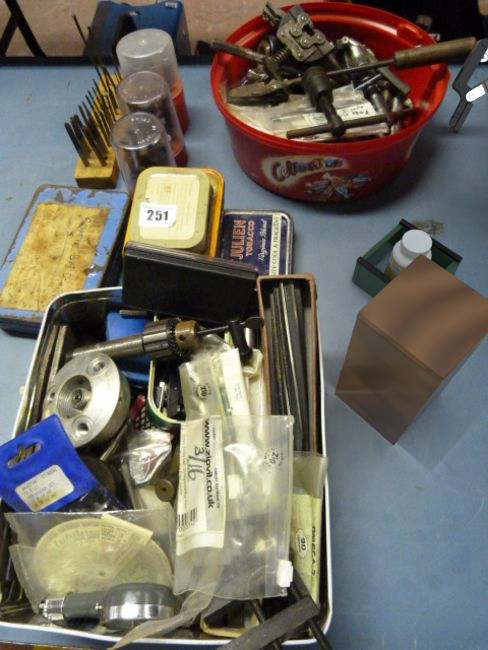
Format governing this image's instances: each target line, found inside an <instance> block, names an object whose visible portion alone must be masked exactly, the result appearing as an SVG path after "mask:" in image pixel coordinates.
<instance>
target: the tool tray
mask: <svg viewBox="0 0 488 650" xmlns="http://www.w3.org/2000/svg"><path fill="white" fill-rule="evenodd" d="M410 230H421V229H420V228H418V227H417V226H416V225H414V224H413V223H411V222H410V221H408V220H406V219H405V218H404V217H402V218H401V219H399V222H398V224H397V225H395V227H393V228H392V229H391V230H390V231H389V232H388V233H387V234H385V235H384V236H383V237H381V239H379V241H377V242H376V243H375V244H374V245H372V247H371V248H370V249H369V250H367V252H365V253H364V254H363V255H362V256H359V257H358V258H356V262H355V265H354V270H353V273H352V277H351V282H352V283H354V284H355V285H356V286H358V287H359V288H361V289H362V290H363V291H364V292H366V293H367V294H368V295H370V296H371V297H372V298H374V297H375V296H376V295H377V294H378V293H379V292H380V291H381V290H382V289H383V288H384V287H386V286H387V285H388V284H389V283H390V282H391V281H392V280H393V279H391V278H390V277H388V276H387V275H386V274H384V273H385V272H383V271H382V270H380V269H379V268H377V267H376V266H377V265H378V263H380V262H382V260H383V259H385V257H387V256H388V255H389V254H391V253H392V250H393V248H394V246H395V244H396V243H397V242H398V241H400V240H402V237H403V235H404V234H405V233H406V232H408V231H410ZM421 231H423V230H421ZM429 236H430V238H431V240H432V246H431V249H430V250H431V260H432V261H433V262H435V263H436V264H437V265H439V266H440V267H442V268H443V269H445V270H446V271H448V272H449V273H451V274H452V275H454V276H455V274H456V272H457V270H458V268H459V267H460V265H461V263H462V261H463V260H464V257H462V256H461V255H459V254H458V253H456V252H455V251H454V250H452V249H450V248H449V247H447V246H446V245H444V244H443V243H441V242H440V241H439V240H437V239H436V238H434V237H432V236H431V235H429Z"/></svg>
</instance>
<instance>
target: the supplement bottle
mask: <svg viewBox="0 0 488 650" xmlns="http://www.w3.org/2000/svg"><path fill="white" fill-rule="evenodd" d="M430 236H431V235H430V234H428V233H427V232H425V231H423V230H422V231H421V229H420V230H410V231H408V232H406V233H405V234H404V235H403V237H402V240H400V241H398V242H397V243H396V244H395V246H394V248H393V250H392V251H391V252H390V256H389V259H388V262H387V265H386V268H385V270H384V272H383V273H384V274H386V275H387V276H388V277H390V278H391V279H394V278H395V277H396V276H397V275H398V274H399V273H400V272H401V271H402V270H404V269H405V268H406V267H407V266H408V265H409V264H410V263H411V262H412V261H413V260H414V259H415V258H416V257H417V256H418V255H419V254H423V255H424V256H426V257H427V258H429V259H430V260H431V250H430V249H431V246H432V240H431V238H430Z"/></svg>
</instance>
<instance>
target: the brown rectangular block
mask: <svg viewBox="0 0 488 650" xmlns="http://www.w3.org/2000/svg"><path fill="white" fill-rule="evenodd" d="M487 336H488V298H487V297H486V296H485V295H483V294H482V293H481V292H479V291H478V290H476V289H475V288H473V287H472V286H470V285H468V284H467V283H465V282H464V281H463V280H461V279H460V278H459V277H457V276H455V274H454V275H452V274H451V273H449V272H448V271H446V270H445V269H443V268H442V267H440V266H439V265H437V264H436V263H435V262H433V261H432V260H430V259H429V258H427V257H426V256H424V255H423V254H419V255H418V256H417V257H416V258H415V259H414V260H413V261H412V262H411V263H410V264H409V265H408V266H407V267H406V268H405V269H404V270H402V271H401V272H400V273H399V274H398V275H397V276H396V277H395V278H394V279H393V280H392V281H391V282H390V283H389V284H388V285H387V286H386V287H384V288H383V289H382V290H381V291H380V292H379V293H378V294H377V295H376V296H375V297H372V299H370V301H368V303H366V304H365V305H364V306H363V307H362V308H361V309H360V310H359V311H358V313H357V316H356V319H355V323H354V326H353V329H352V332H351V337H350V339H349V343H348V346H347V350H346V353H345V357H344V359H343V364H342V366H341V370H340V373H339V377H338V380H337V384H336V387H335V391H334V395H335V396H336V397H337V398H338V399H339V400H340V401H342V402H343V403H344V404H345V405H346V406H347V407H348V408H349V409H351V410H352V411H353V412H354V413H355V414H357V416H359V417H360V418H361V419H362V420H363V421H364V422H366V423H367V424H368V425H369V426H370V427H371V428H372V429H374V431H376V432H377V433H378V434H379V435H380V436H381V437H382V438H383V439H385V440H386V441H387V442H388V443H389V444H391V446H395V445H397V442H398V441H399V440H400V439H401V438H402V437H403V436H404V435H405V434H406V433H407V431H409V429H410V428H411V427H412V426H413V425H414V424H415V423H416V422H417V421H418V419H420V417H421V416H422V415H423V414H424V413H425V412H426V410H428V409H429V408H430V407H431V405H432V404H433V403H434V402H435V401H436V400H437V398H438V397H439V396H440V395H441V394H442V393H443V391H444V390H445V389H446V388H447V387H448V385H449V384H450V383H451V381H452V380H453V379H454V378H455V376H456V375H457V374H458V373H459V371H460V370H461V369H462V367H463V366H464V365H465V364H466V363H467V361H468V360H469V358H471V356H472V355H473V354H474V352H475V351H476V350H477V349H478V347H479V346H480V345H481V344H482V342H483V341H484V340H485V339H486V337H487Z"/></svg>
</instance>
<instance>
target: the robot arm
mask: <svg viewBox="0 0 488 650" xmlns="http://www.w3.org/2000/svg"><path fill="white" fill-rule="evenodd" d="M486 62H488V38H486V37H485V38H482V39H480V40H478V41H476V42H475V44H474V46H473V47H472V49H471V51H470V53H469V54H468V56H467V58H466V59H465V61H464V63H463V65H462V66H461V67H460V70H459V71H458V73H457V75H456V77H455V78H454V80H453V82H452V83H451V88H452V90H453V91H455V92H456V93H457V94H458V95H459V102H458V104H457V106H456V107H455V109H454V111H453V113H452V115H451V116H450V118H449V120H448V121H449V122H448V126H450V130H449V132H450V133H453V134H456V135H458V133H459V132H460V130H461V128H462V127H463V125H464V123H465V121H466V119H467V118H468V115H469V114H470V112H471V110H472V108H473V107H474V104H473V102H474V101H475V100H477V99H479V98H481V97H482V96H484V95H486V94H488V77H487V78H485V79H483V80H482V81H480V82H478V83H477V84H476V85H474V86H472V87H470V86H469V85H468V83H469V81H470V79H471V78H472V76H473V75H474V73H475V71H476V69H477V68H478V66H479V65H480V63H486Z"/></svg>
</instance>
